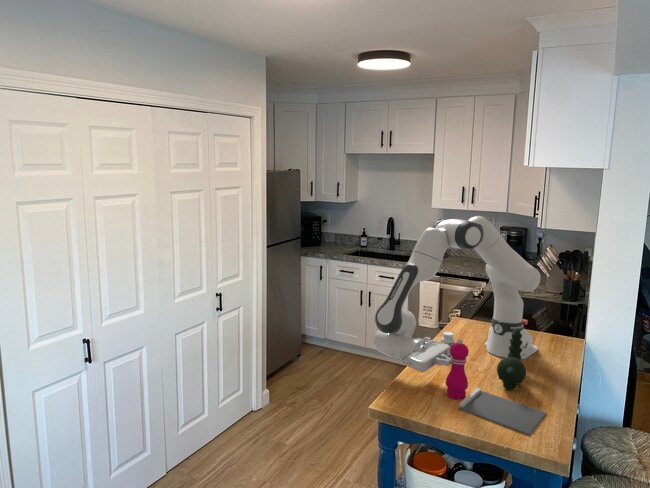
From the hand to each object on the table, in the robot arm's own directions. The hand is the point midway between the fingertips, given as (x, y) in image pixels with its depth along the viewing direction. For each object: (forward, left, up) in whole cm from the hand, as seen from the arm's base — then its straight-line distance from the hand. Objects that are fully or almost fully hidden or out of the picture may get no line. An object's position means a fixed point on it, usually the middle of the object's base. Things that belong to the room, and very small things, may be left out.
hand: (450, 362), depth 160 cm
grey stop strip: (-2, +8, -11) cm, 13 cm away
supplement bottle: (-24, -21, -11) cm, 34 cm away
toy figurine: (-26, +7, -11) cm, 29 cm away
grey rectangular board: (-5, +18, -11) cm, 21 cm away
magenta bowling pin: (-1, +3, -11) cm, 11 cm away
